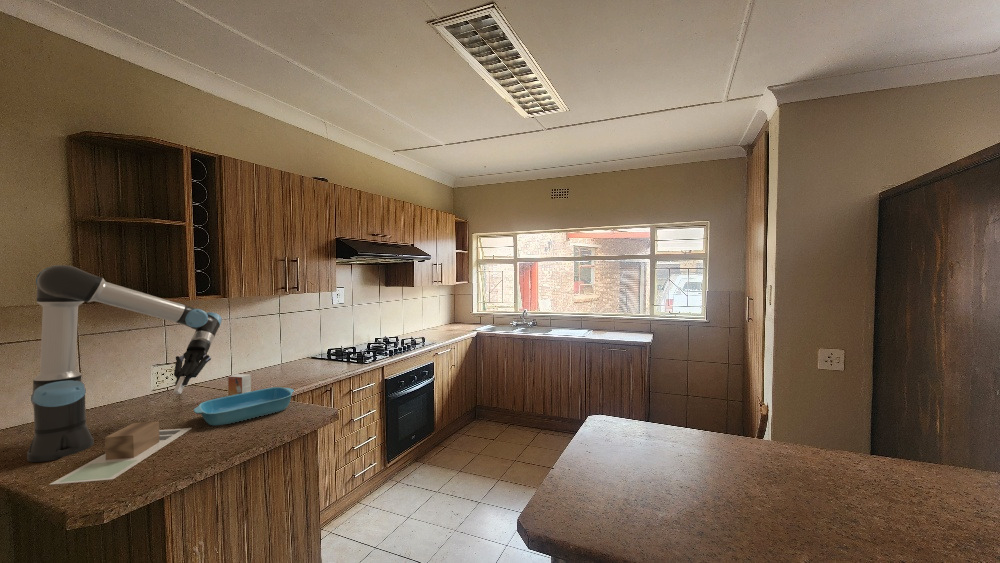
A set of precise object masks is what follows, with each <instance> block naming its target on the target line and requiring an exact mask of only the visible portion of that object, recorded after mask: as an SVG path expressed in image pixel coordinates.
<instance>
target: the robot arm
mask: <svg viewBox="0 0 1000 563" xmlns="http://www.w3.org/2000/svg"><path fill="white" fill-rule="evenodd" d="M35 284H36V303H37V304H38V305H40V306H41V307H42V317H41V318H42V319H41V324H42V325H41V344H40V346H41V348H40V367H39V368H40V370H39V374H37V375H36V376H35V377H34V378H33V379H32V394H31V395H30V396H31V397H30V402H31V404H32V408H33V416H34V417H33V421H34V426H33V427H34V436H33V439H32V441H31V443H30V446H29V449H28V451H27V452H26V458H27V459H26V460H27V462H29V463H42V462H43V463H44V462H49V461H55V460H59V459H62V458H64V457H68V456H72V455H74V454H77V453H80V452H83V451H85V450H88V449H89V448H90V447H93V445H94V442H95V441H94V440H95V438H94V437H93V435H92V434H91V431H90V430H89V427H88V426H87V415H86V414H87V412H86V409H87V408H86V387H85V384H84V382H83V381H82V373H81V372H80V371H78V370H77V369H76V368H77V347H78V346H77V345H78V320H79V317H78V316H79V306H81V305H82V304H83V303H85V302H86V303H92V302H97V303H100V304H104V305H108V306H111V307H116V308H120V309H124V310H128V311H130V312H131V311H132V312H134V313H139V314H142V315H147V316H151V317H154V318H158V319H162V320H165V321H169V322H173V323H177V324H180V325H183V326H185V327H188V328H190V329H193V330H195V332H194V333H193V334H192V337H191V339H190V342H189V343H188V345H187V348H186V351H185V352H184V353H183V354H182V355H180V356H179V355H177V356H175V361H176V362H175V367H174V371H173V376H174V377H175V378H176V381H175V382H174V384H175V386H174V390H173V393H174V394H176V395H182V393H183V391H184V388H185V387H186V386H187V385H188V384H189V381H190V380H191V379H193V378H197V377H198V376H199V374H200V372H202V370H203V368H204V367H205V366H206V364H208V363H209V362H210V361H211V360H212V357H211V356H210V355H209V354H208V352H209V349H210V348H211V345H212V344H213V341H214V339H215V336H216V334H217V332H218V330H219V328H220V326H221V324H222V321H223V320H222V316H221V315H220V314H218V313H217V312H212V311H209V312H206V311H205V310H203V309H201V308H196V307H191V306H188V305H185V304H182V303H179V302H175V301H172V300H168V299H165V298H161V297H159V296H155V295H151V294H148V293H145V292H142V291H140V290H139V291H138V290H135V289H131V288H128V287H125V286H121V285H119V284H114V283H111V282H108V281H106V280H105V279H104V277H101V276H98V275H95V274H92V273H89V272H88V271H84V270H83V269H80V268H78V267H75V266H72V265H68V264H67V265H66V264H60V265H59V264H58V265H57V264H56V265H51V266H49V267H46V268H44V269H42V270H40V271H39V273H38V274H37V276H36V279H35ZM183 362H184V363H183Z"/></svg>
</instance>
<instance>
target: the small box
mask: <svg viewBox="0 0 1000 563" xmlns="http://www.w3.org/2000/svg"><path fill="white" fill-rule="evenodd" d="M251 378H252V374H248V373H246V374H245V373H236V374H232V375H229V376H227V379H228V380H227V381H228V384H227V385H228V386H227V387H228V391H227V392H228V395H227V396H231V395H236V394H241V393H246V392H251V391H252V388H251V387H252V379H251Z"/></svg>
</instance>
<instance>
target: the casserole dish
mask: <svg viewBox="0 0 1000 563" xmlns="http://www.w3.org/2000/svg"><path fill="white" fill-rule="evenodd" d="M294 391H295V390H294V389H293V388H290V387H283V386H282V387H281V386H276V387H275V386H274V387H272V386H271V387H268V388H262V389H256V390H251V392H246V393H241V394H236V395H231V396H228V395H227V396H222V397H217V398H212V399H209V400H205V401H203V402H201V403H199V404H198V406H197V407H196V406H195V408H194V409H193V412H194V413H195V414H197V415H201V417H202V418H203V420H204V421H205V422H206V423H207V424H208V425H209V426H222V425H223V426H224V425H227V424H228V425H231V423H233V424H236V423H235V422H237V423H240V422H239V421H241V422H244V421H243V420H245V421H248V420H247V419H249V420H252V419H251V418H253V419H255V417H257V418H260V417H259V416H261V417H263V416H264V415H265V416H268V414H269V415H273V414H276V413H279V412H282V411H284V410H285V409H286V408H288V407H289V404H290V403H291V399H292V396H293V393H294ZM275 412H276V413H275ZM272 413H273V414H272Z"/></svg>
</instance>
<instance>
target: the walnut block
mask: <svg viewBox="0 0 1000 563" xmlns="http://www.w3.org/2000/svg"><path fill="white" fill-rule="evenodd" d="M159 430H160V421H146V422H145V421H144V422H133V423H131V424H129V425H126V426H125V427H123V428H121V429H119V430H116V431H115V432H113V433H111V434H108V435H107V436H105V437H104V446H105V448H104V449H105V453H106V460H112V459H125V458H134V457H136V456H138V455H139V454H141V453H142V452H144V451H146V450H147V449H149V448H151V447H152V446H154V445H155V444H157V443H159Z"/></svg>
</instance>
